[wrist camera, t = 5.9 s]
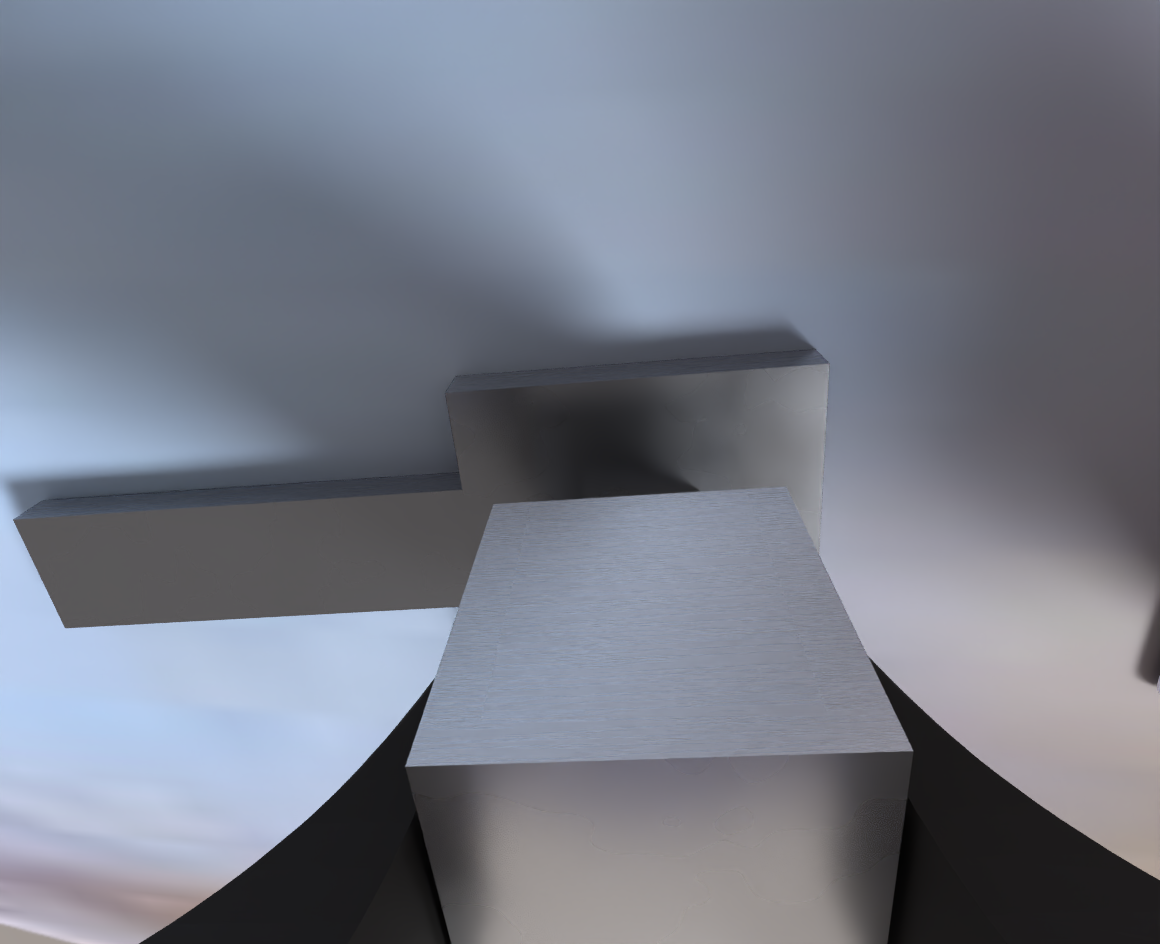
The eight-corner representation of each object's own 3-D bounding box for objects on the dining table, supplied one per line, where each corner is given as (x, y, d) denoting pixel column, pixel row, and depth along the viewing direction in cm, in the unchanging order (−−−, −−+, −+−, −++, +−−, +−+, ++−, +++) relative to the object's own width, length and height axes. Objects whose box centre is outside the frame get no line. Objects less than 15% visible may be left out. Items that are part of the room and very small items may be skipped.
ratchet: (814, 347, 16) (878, 415, 12) (800, 641, 19) (847, 767, 15) (1, 411, 17) (-170, 490, 13) (121, 674, 21) (11, 797, 17)
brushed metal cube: (786, 486, 13) (913, 750, 7) (779, 713, 15) (872, 1048, 9) (493, 503, 13) (404, 766, 8) (528, 722, 15) (478, 1048, 10)
